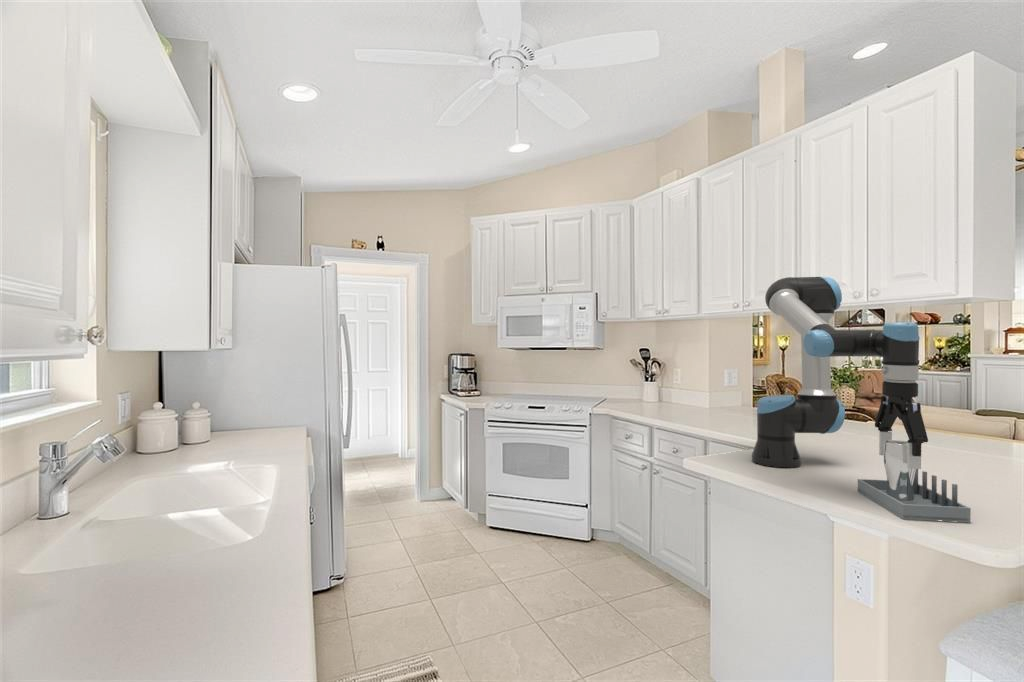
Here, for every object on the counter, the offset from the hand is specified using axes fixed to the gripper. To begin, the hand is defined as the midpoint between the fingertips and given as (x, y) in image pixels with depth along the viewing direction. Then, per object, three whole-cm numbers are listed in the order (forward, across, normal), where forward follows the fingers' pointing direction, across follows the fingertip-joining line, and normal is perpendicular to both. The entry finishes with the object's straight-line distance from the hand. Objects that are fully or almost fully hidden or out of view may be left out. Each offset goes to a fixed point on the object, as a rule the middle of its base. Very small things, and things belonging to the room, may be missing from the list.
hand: (899, 461), depth 136 cm
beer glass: (+10, +1, 0) cm, 10 cm away
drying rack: (+11, +3, +1) cm, 11 cm away
